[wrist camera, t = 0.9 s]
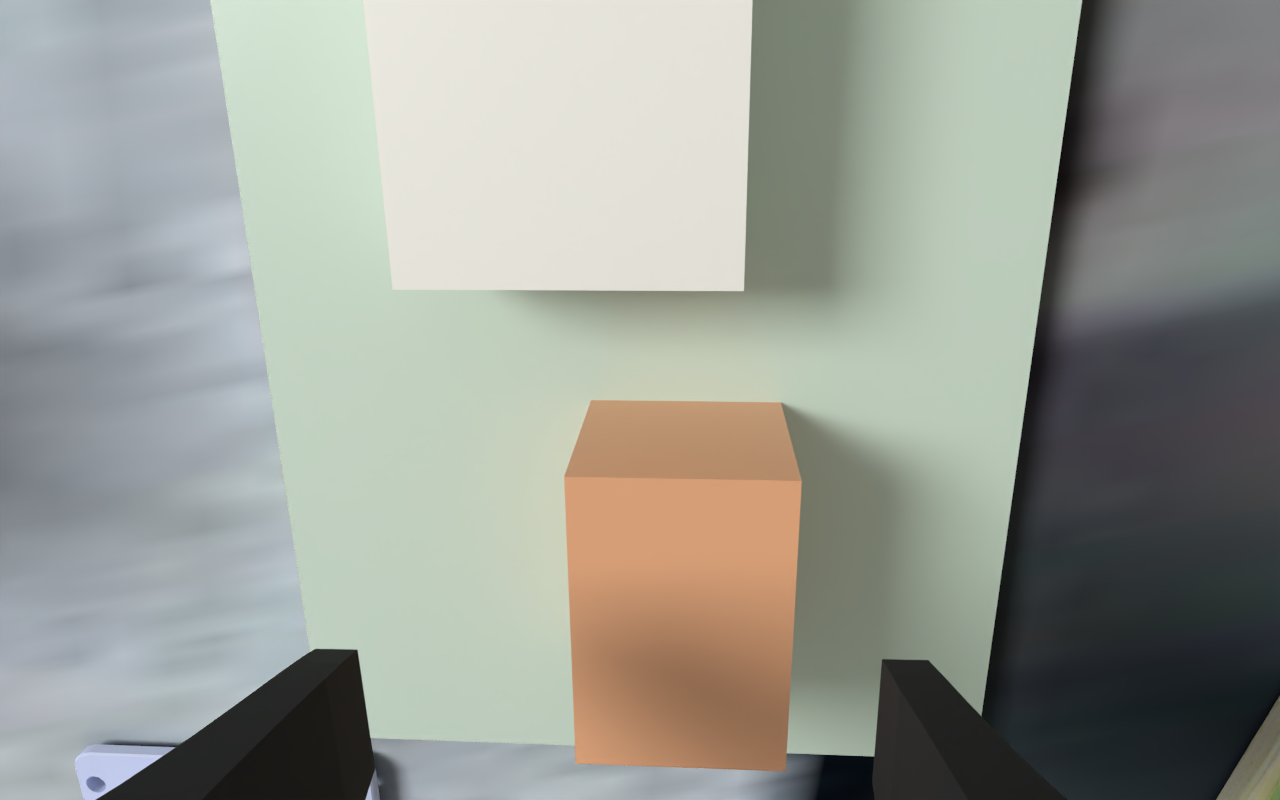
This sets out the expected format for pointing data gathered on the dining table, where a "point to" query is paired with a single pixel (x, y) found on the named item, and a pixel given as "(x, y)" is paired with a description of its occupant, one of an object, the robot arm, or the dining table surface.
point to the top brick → (682, 583)
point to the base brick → (563, 142)
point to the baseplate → (665, 360)
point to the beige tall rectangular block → (1258, 765)
